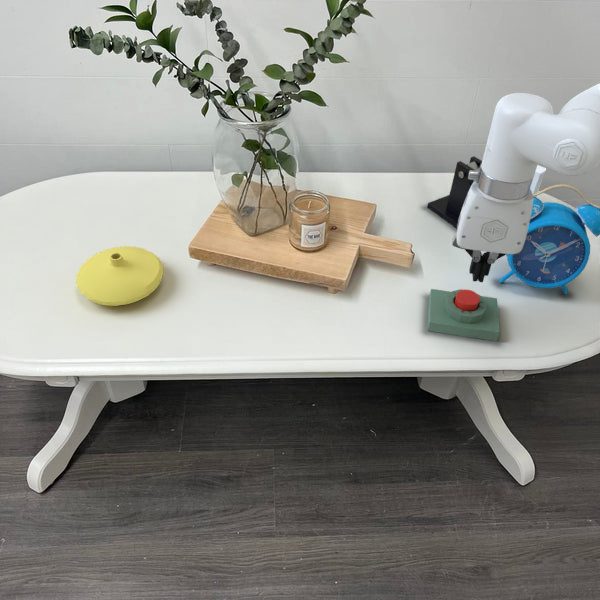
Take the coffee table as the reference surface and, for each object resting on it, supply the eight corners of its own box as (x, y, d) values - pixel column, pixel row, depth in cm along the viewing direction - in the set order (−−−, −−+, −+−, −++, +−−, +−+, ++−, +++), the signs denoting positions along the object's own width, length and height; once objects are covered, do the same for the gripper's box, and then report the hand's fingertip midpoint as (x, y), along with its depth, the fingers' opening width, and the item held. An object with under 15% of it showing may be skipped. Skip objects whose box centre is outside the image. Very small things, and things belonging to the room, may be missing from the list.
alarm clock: (489, 289, 110) (519, 201, 96) (489, 257, 117) (517, 170, 104) (581, 305, 107) (625, 216, 94) (575, 271, 114) (615, 184, 101)
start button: (477, 298, 103) (479, 291, 101) (477, 313, 100) (480, 306, 98) (454, 295, 103) (456, 287, 102) (454, 310, 100) (456, 302, 99)
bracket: (494, 221, 127) (509, 170, 118) (464, 234, 123) (478, 182, 114) (455, 196, 134) (468, 146, 125) (426, 207, 130) (437, 156, 121)
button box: (494, 306, 106) (499, 291, 104) (496, 341, 100) (502, 325, 97) (428, 297, 108) (432, 281, 105) (427, 330, 101) (431, 314, 99)
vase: (72, 316, 102) (61, 287, 97) (87, 260, 113) (79, 231, 108) (162, 312, 103) (156, 283, 98) (168, 257, 114) (163, 228, 110)
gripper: (452, 188, 83) (432, 285, 95) (560, 200, 81) (525, 297, 93) (452, 163, 88) (433, 257, 100) (553, 173, 86) (521, 268, 98)
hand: (477, 276), depth 97 cm, fingers closed
